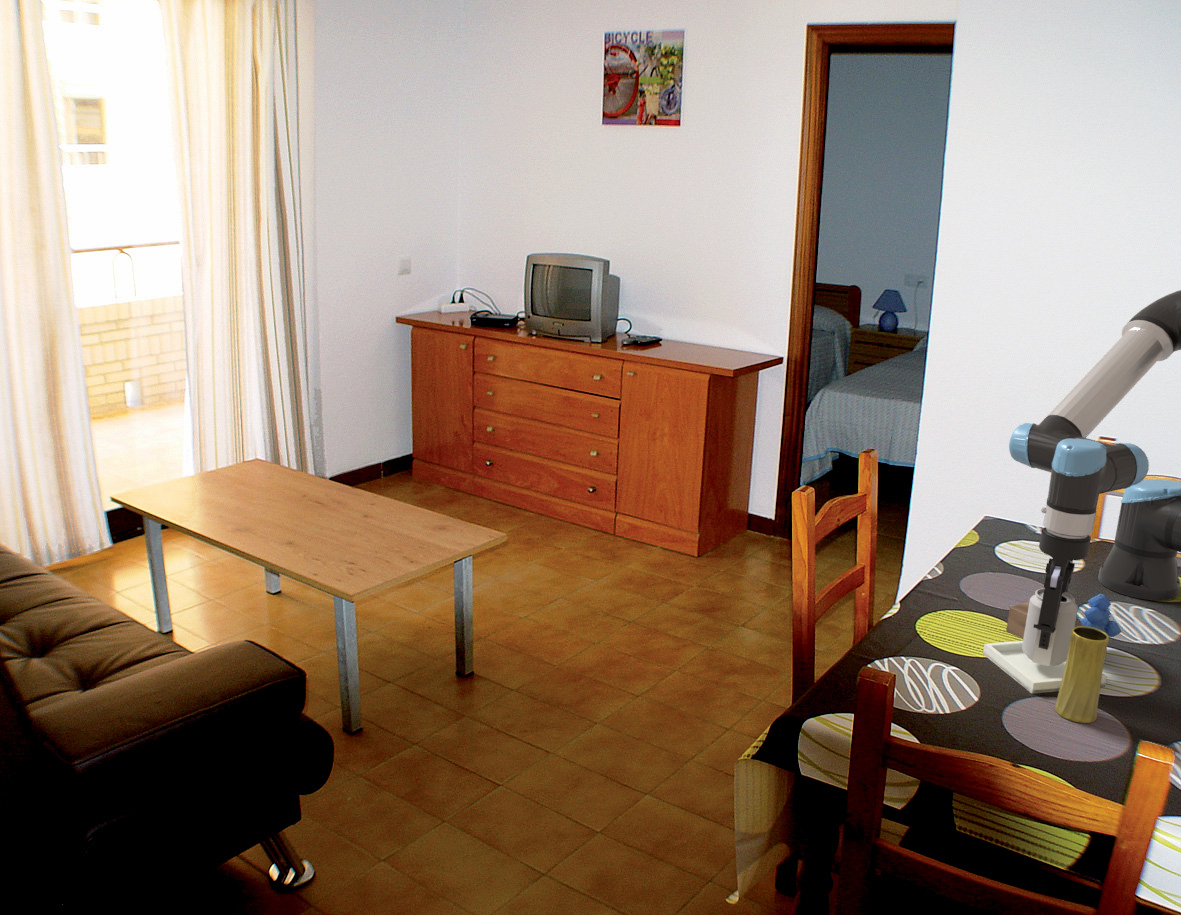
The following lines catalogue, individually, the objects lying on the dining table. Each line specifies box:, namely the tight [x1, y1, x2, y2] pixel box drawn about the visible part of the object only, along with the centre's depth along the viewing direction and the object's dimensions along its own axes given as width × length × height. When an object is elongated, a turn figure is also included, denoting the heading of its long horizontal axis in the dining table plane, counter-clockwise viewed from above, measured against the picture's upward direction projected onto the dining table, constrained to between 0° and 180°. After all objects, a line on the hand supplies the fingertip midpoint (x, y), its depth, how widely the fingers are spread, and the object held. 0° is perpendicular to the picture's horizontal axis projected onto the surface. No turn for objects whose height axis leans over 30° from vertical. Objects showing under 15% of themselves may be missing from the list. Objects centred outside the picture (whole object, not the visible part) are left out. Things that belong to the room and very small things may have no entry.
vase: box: [1054, 625, 1110, 724], centre depth 155 cm, size 6×6×14 cm
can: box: [1022, 587, 1079, 666], centre depth 168 cm, size 8×8×12 cm
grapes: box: [1079, 593, 1123, 638], centre depth 174 cm, size 12×7×12 cm, turn 143°
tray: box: [982, 640, 1108, 695], centre depth 170 cm, size 14×14×2 cm
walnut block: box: [1005, 601, 1029, 640], centre depth 183 cm, size 5×5×5 cm
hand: (1045, 653), depth 169 cm, fingers closed on can, 7 cm apart
